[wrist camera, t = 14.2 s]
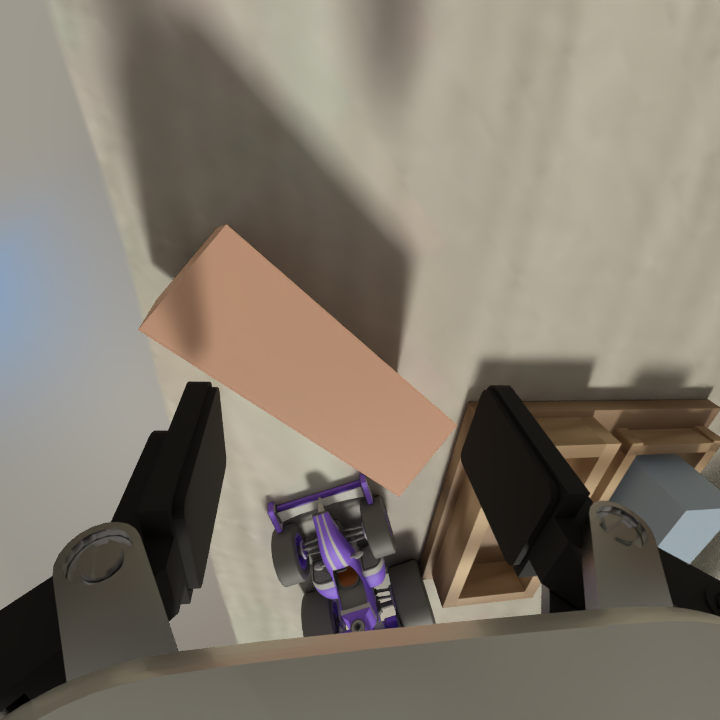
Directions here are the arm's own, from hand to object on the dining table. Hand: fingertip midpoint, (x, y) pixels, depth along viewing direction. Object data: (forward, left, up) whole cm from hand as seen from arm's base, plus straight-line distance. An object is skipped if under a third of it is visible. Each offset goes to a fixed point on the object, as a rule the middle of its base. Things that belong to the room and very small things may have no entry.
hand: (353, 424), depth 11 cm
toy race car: (+20, +3, -10) cm, 22 cm away
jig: (+15, +18, -9) cm, 25 cm away
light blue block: (+15, +23, -8) cm, 28 cm away
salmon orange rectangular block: (+2, -2, -9) cm, 9 cm away
